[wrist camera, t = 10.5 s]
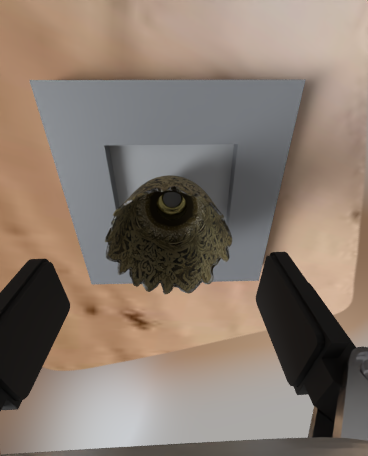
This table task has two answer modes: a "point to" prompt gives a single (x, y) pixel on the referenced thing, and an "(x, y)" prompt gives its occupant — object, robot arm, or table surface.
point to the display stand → (171, 154)
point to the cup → (168, 236)
